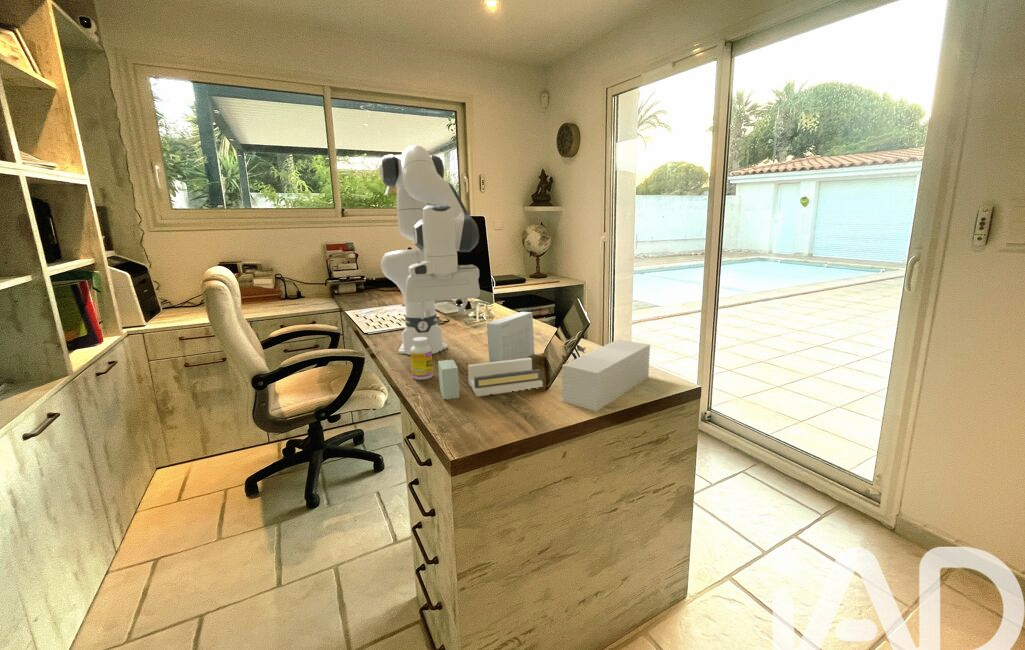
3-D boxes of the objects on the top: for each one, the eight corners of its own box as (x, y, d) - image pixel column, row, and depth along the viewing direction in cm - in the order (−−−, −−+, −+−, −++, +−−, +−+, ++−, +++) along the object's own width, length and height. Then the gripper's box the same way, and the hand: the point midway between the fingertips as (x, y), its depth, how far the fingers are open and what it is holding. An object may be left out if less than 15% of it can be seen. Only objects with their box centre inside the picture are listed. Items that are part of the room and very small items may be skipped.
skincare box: (522, 352, 167) (522, 310, 163) (534, 354, 163) (534, 312, 160) (487, 367, 150) (486, 322, 146) (500, 370, 147) (499, 324, 143)
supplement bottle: (428, 381, 139) (425, 341, 136) (409, 380, 140) (405, 341, 137) (436, 373, 145) (433, 336, 142) (417, 372, 146) (414, 335, 143)
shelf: (468, 382, 137) (467, 363, 135) (529, 374, 142) (529, 356, 141) (476, 396, 125) (475, 376, 124) (542, 387, 131) (542, 368, 129)
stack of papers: (596, 412, 114) (597, 373, 112) (562, 402, 121) (562, 364, 118) (648, 377, 138) (650, 344, 135) (617, 370, 144) (618, 339, 142)
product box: (439, 389, 131) (438, 361, 129) (455, 387, 133) (453, 359, 130) (443, 399, 124) (441, 369, 122) (460, 397, 125) (458, 367, 123)
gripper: (476, 263, 125) (478, 310, 128) (402, 266, 120) (407, 316, 123) (481, 264, 119) (483, 314, 123) (404, 269, 114) (408, 321, 117)
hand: (444, 315), depth 123 cm, fingers open, 8 cm apart
